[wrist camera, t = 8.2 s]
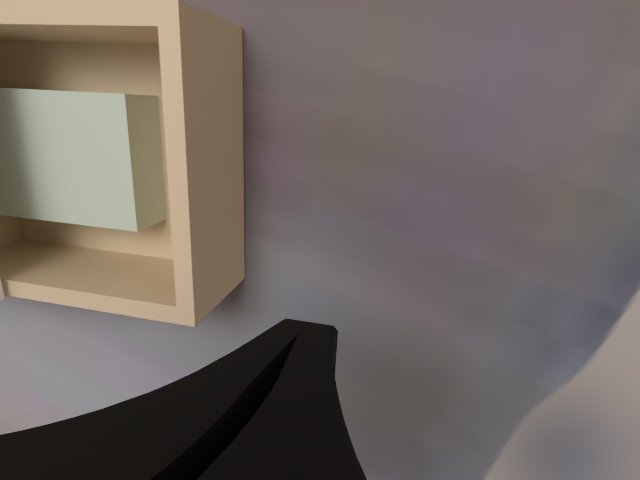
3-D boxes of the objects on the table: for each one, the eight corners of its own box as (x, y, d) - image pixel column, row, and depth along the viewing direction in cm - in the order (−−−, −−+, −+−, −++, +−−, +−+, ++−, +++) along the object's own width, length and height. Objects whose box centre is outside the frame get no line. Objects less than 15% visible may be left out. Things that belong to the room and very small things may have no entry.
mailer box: (244, 278, 22) (195, 327, 17) (24, 247, 25) (-74, 282, 20) (242, 28, 18) (178, -1, 13) (-17, 24, 21) (-150, -2, 16)
